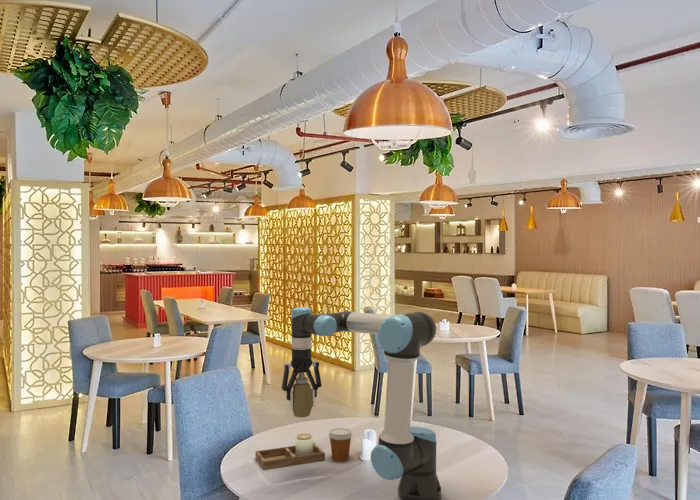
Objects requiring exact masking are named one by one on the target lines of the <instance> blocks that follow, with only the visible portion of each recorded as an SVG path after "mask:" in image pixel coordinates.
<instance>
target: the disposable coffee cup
mask: <svg viewBox="0 0 700 500" xmlns="http://www.w3.org/2000/svg"><path fill="white" fill-rule="evenodd" d="M328 437H329V444H330V449H331V450H330V451H331V458H332V460H333V461H335V462H346V461H348V460H349V457H350V448H351V439H352V437H353V433H352V431H351V429H349V428H345V427H336V428H331V429H330V430H329V433H328Z"/></svg>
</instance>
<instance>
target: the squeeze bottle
mask: <svg viewBox="0 0 700 500" xmlns="http://www.w3.org/2000/svg"><path fill="white" fill-rule="evenodd" d="M292 392H293V409H291V411H292V413H293V415H294V417H296V418H307V417H309V416H310V414H311V413H312V412H311V411H312V408H313V407H312V398H311V383H310V382H309V378H308V377H306V375H305V372H301V373H298V375H297V377H296V379H295V382H294V384H293V387H292Z"/></svg>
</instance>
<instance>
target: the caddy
mask: <svg viewBox="0 0 700 500" xmlns="http://www.w3.org/2000/svg"><path fill="white" fill-rule="evenodd" d="M255 460H256V461H257V463H258V464H259V465H260V467H261V468H262V469H263V471H266V470H273V469H279V468H280V469H281V468H285V467H286V468H287V467H292V466H300V465H304V464H305V465H306V464H311V463H318V462H324V461H325V460H326V453H325V451H324V450H322V449H321V448H320V447H319V446H318V445H317V444H316V443H315V442H313V454H308V455H302V456H296V445H290V446H289V445H288V446H284V447H283V446H282V447H275V448H269V449H263V450H256V451H255Z"/></svg>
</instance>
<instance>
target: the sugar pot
mask: <svg viewBox="0 0 700 500" xmlns="http://www.w3.org/2000/svg"><path fill="white" fill-rule="evenodd" d="M313 443H314V437H313V435H312V434H311V433H307V432H306V433H305V432H304V433H299V434H297V435H296V437H295V446H296V456H302V455H308V454H313Z"/></svg>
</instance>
